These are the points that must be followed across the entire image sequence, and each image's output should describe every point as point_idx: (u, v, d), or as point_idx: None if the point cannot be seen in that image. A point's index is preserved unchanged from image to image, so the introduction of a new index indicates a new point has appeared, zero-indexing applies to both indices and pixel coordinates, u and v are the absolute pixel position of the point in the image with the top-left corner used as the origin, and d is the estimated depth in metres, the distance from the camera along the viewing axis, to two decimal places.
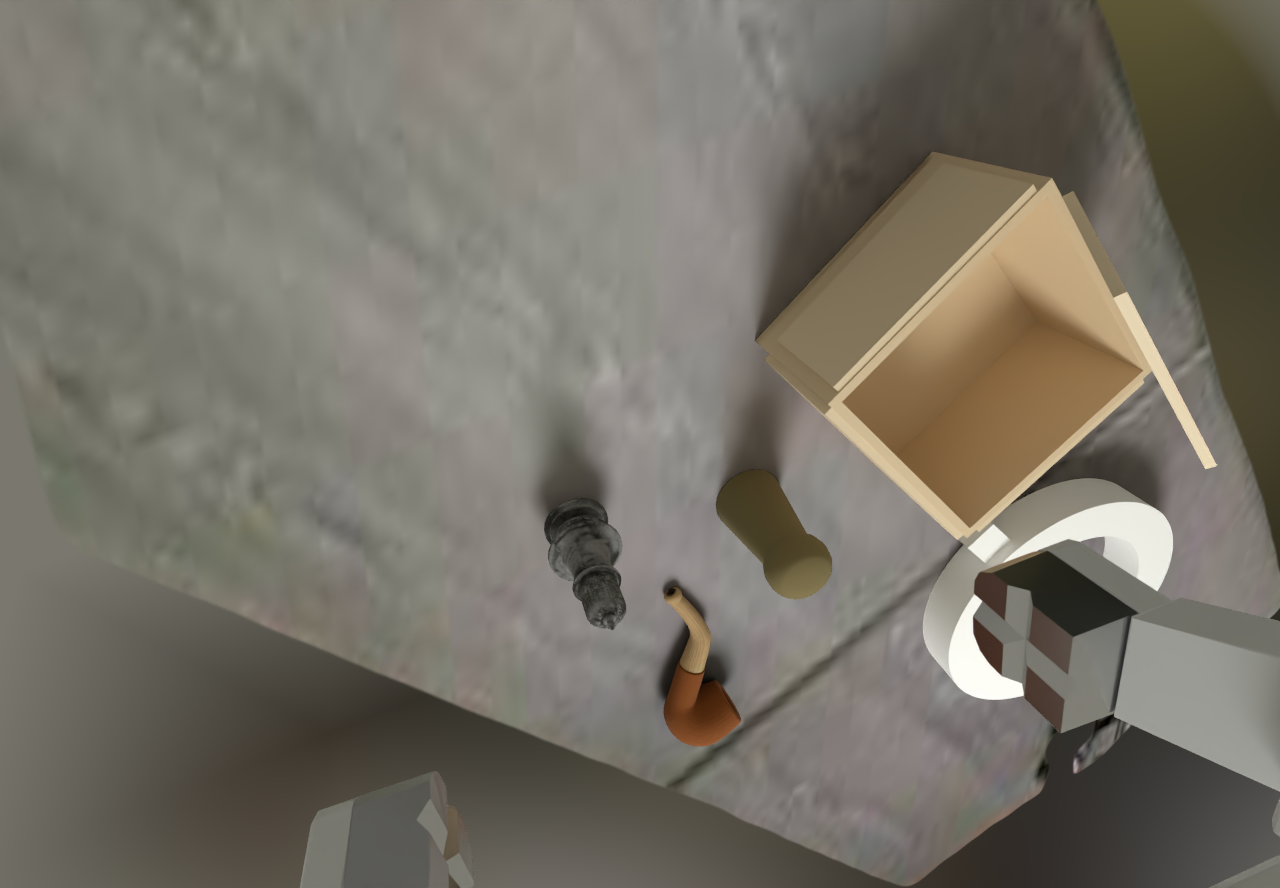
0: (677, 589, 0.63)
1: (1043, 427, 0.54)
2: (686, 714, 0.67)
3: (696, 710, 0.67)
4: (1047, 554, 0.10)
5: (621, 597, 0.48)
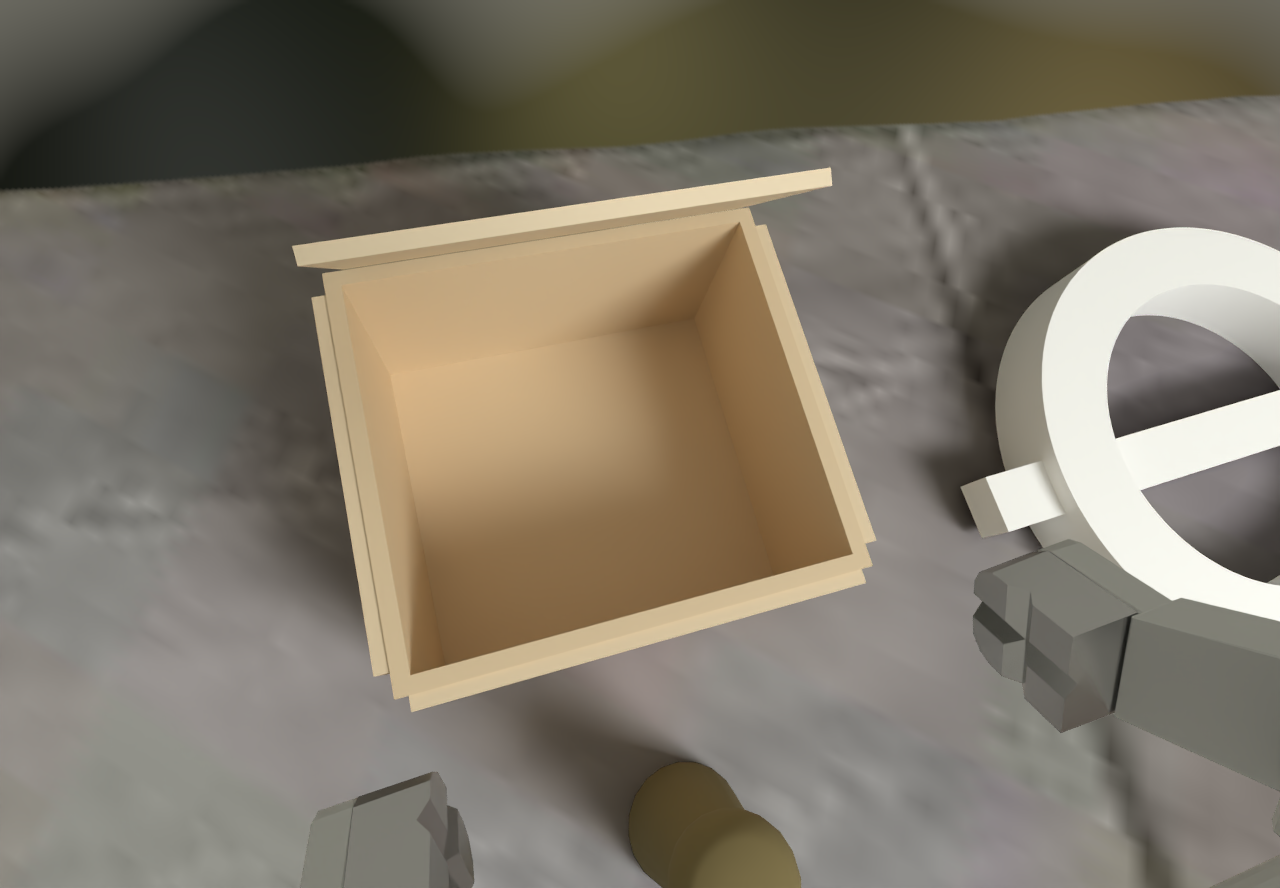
0: None
1: (770, 373, 0.34)
2: None
3: None
4: (1047, 554, 0.10)
5: None
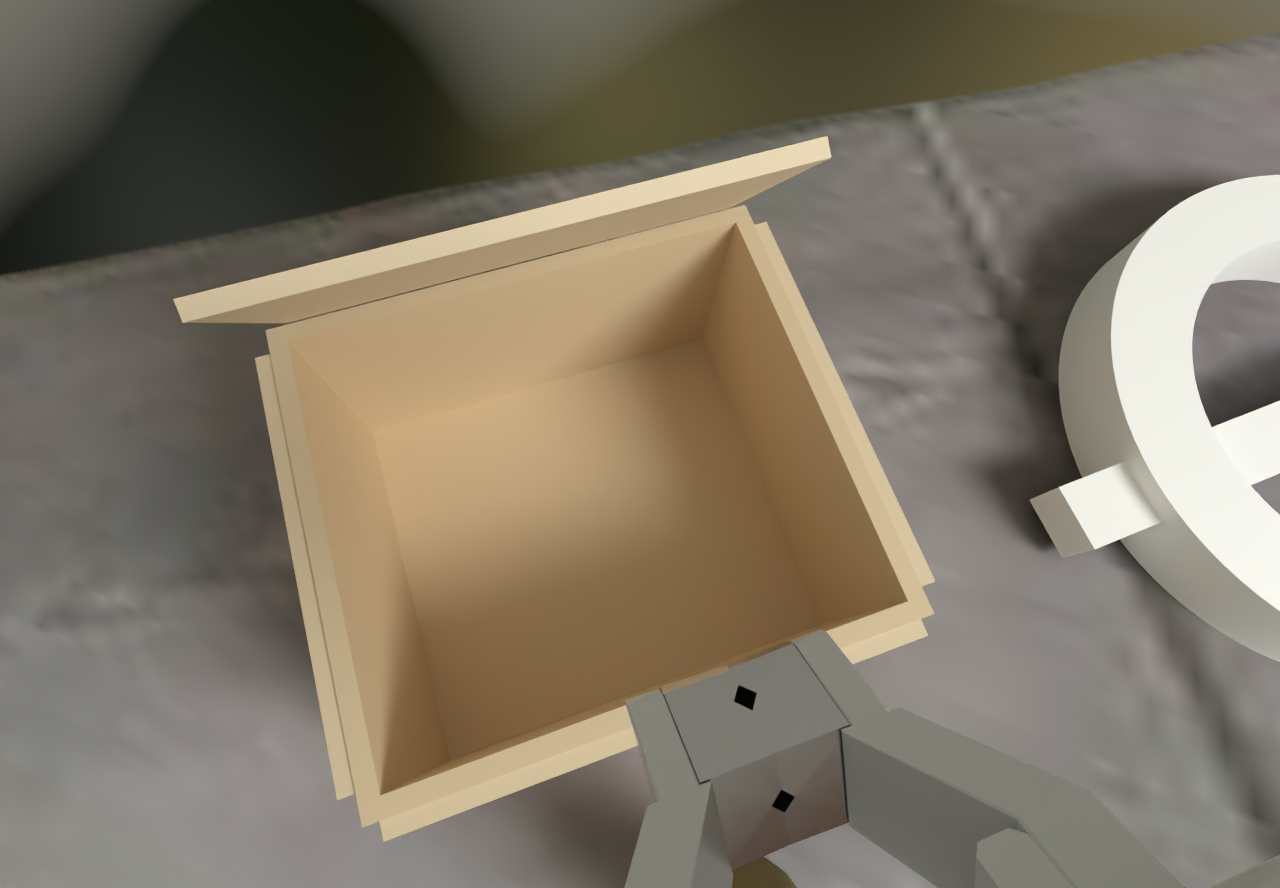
0: None
1: (788, 391, 0.29)
2: None
3: None
4: (790, 647, 0.09)
5: None
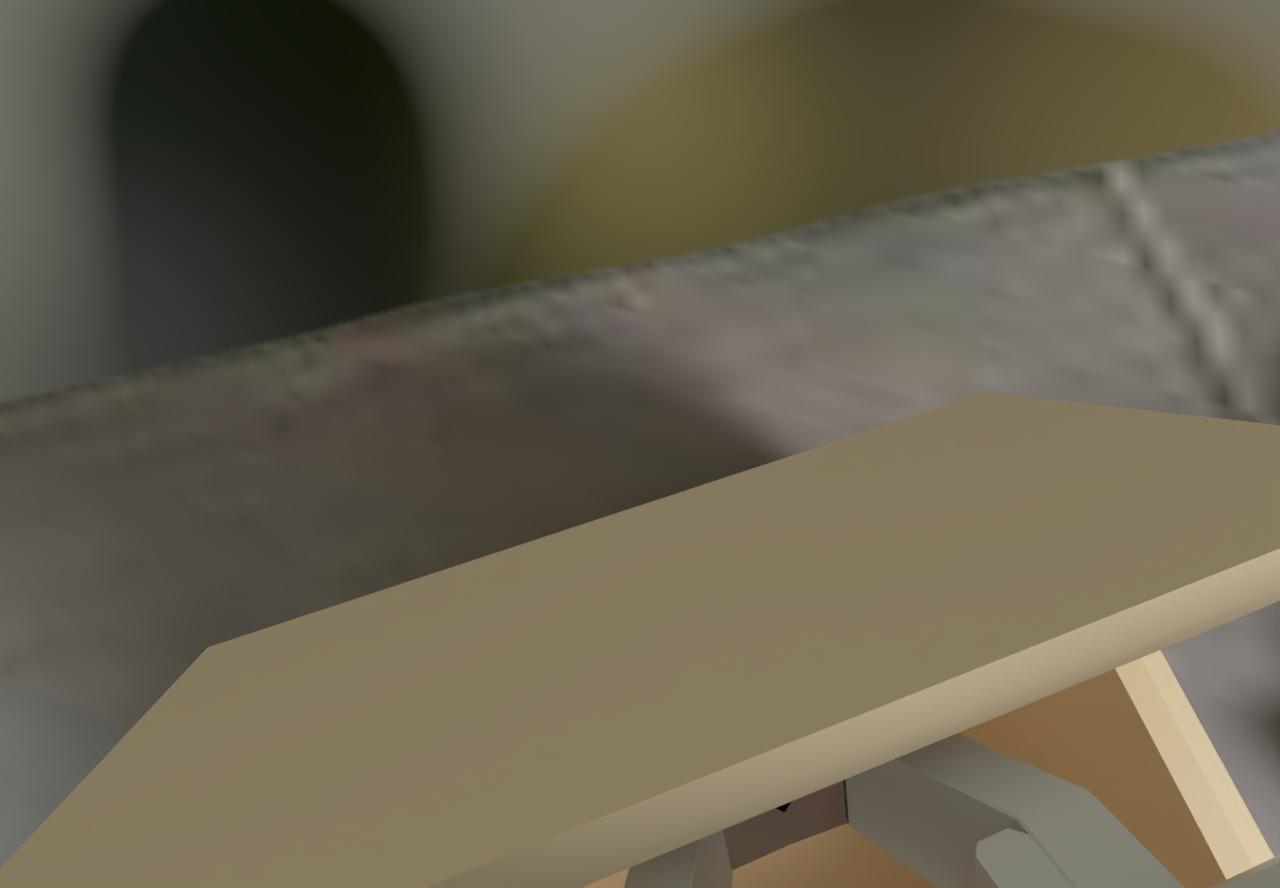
0: None
1: (1080, 719, 0.17)
2: None
3: None
4: None
5: None
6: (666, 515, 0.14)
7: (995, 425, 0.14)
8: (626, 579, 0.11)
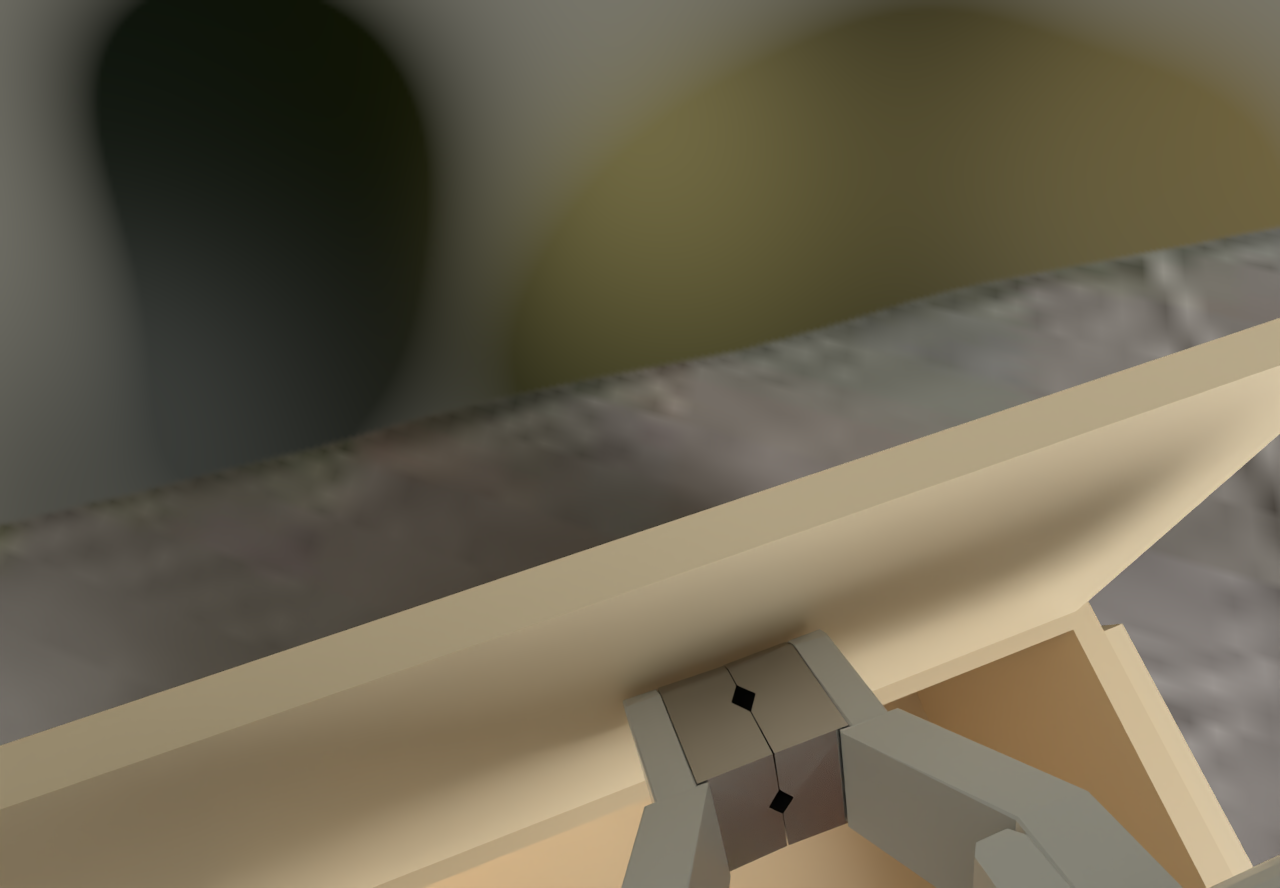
0: None
1: None
2: None
3: None
4: (790, 647, 0.09)
5: None
6: None
7: None
8: None
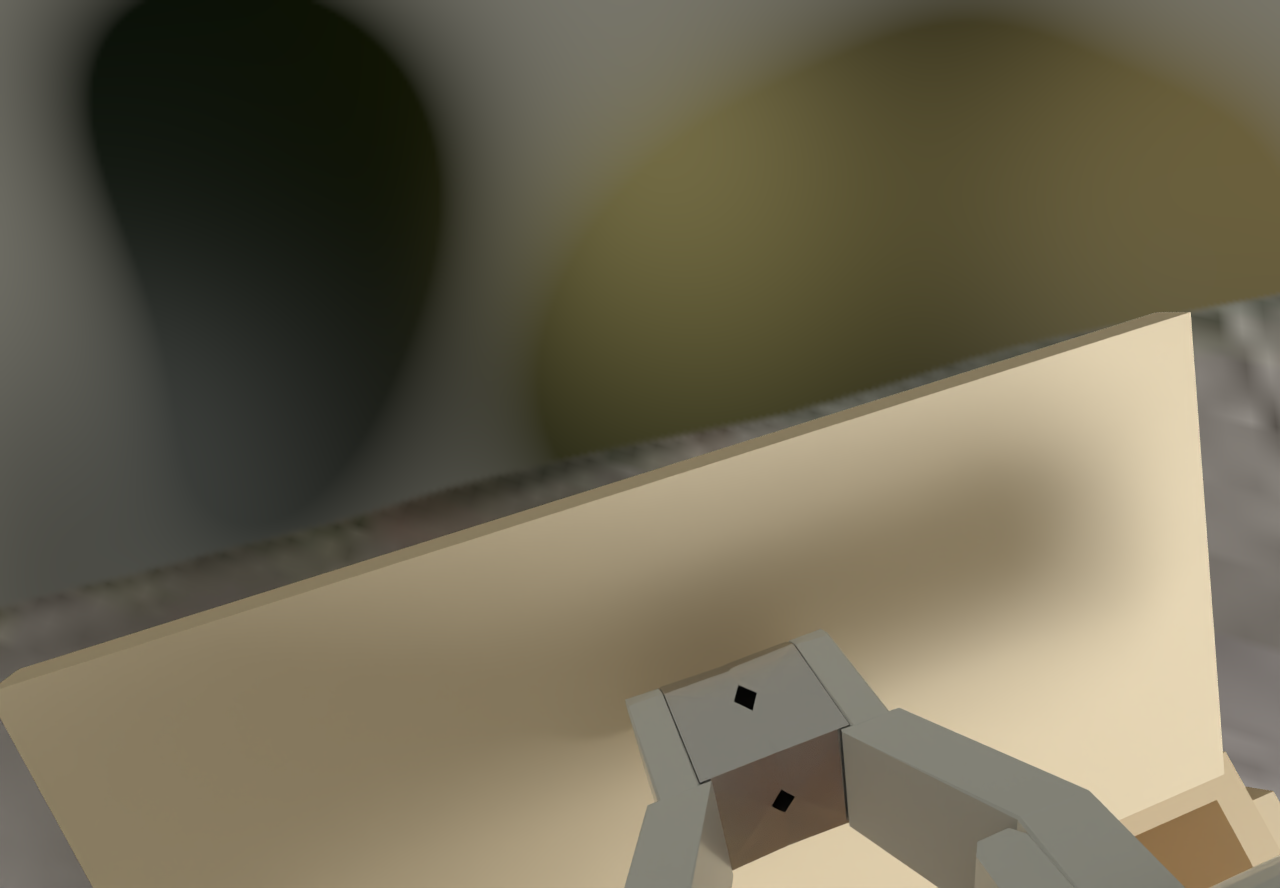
0: None
1: None
2: None
3: None
4: (790, 648, 0.09)
5: None
6: None
7: None
8: None
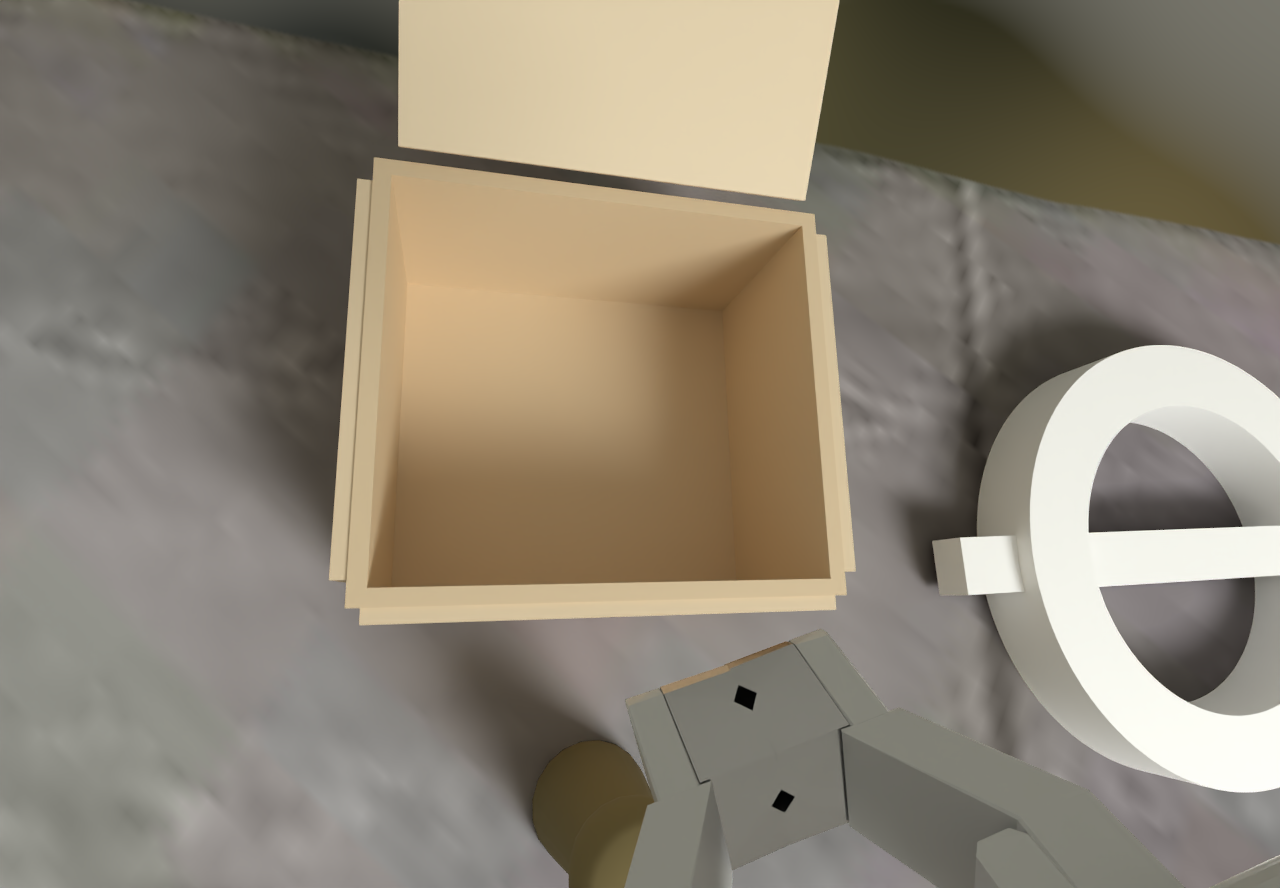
0: None
1: (791, 382, 0.34)
2: None
3: None
4: (790, 647, 0.09)
5: None
6: None
7: None
8: None
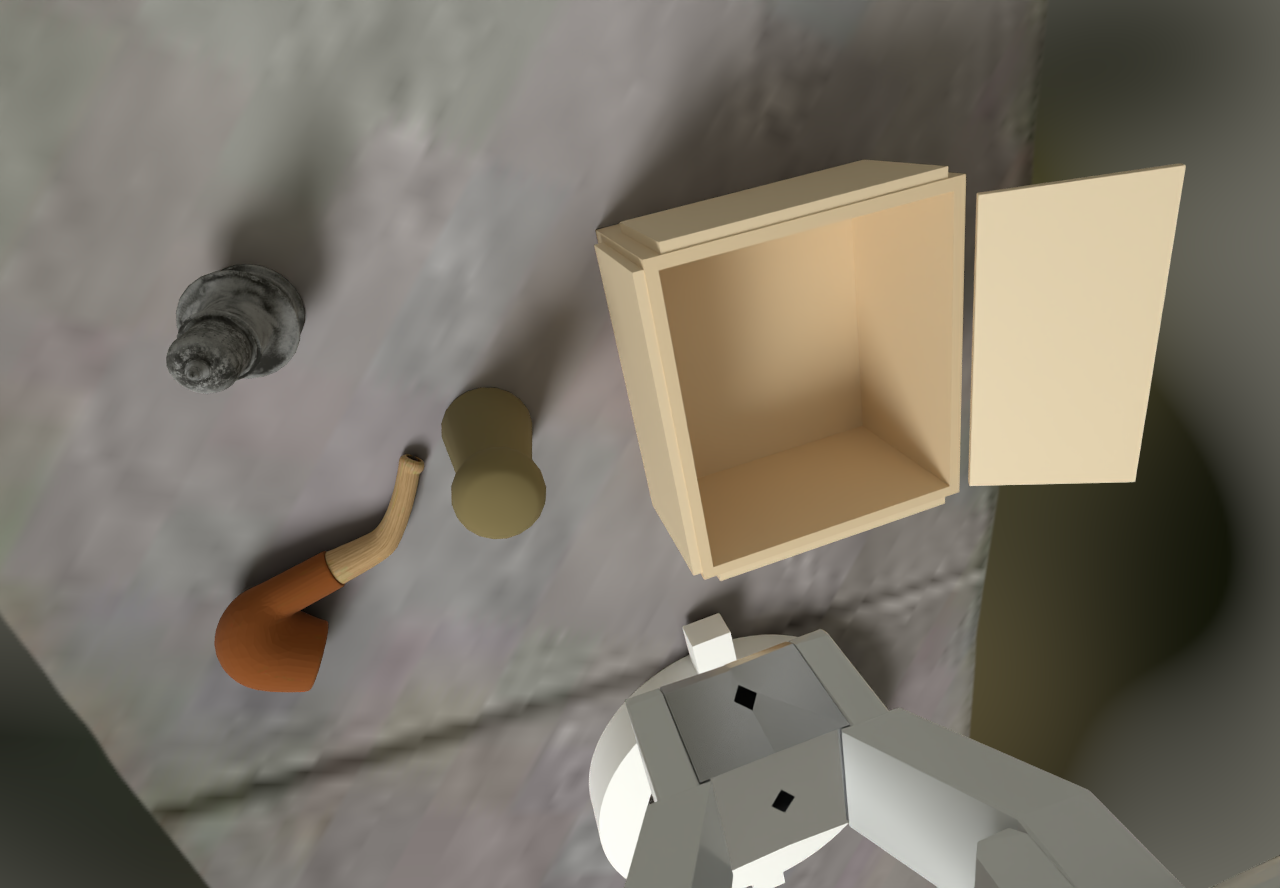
0: (423, 462, 0.46)
1: (833, 503, 0.46)
2: (267, 617, 0.44)
3: (281, 623, 0.44)
4: (790, 647, 0.09)
5: (238, 360, 0.31)
6: None
7: None
8: None
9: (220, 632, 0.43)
